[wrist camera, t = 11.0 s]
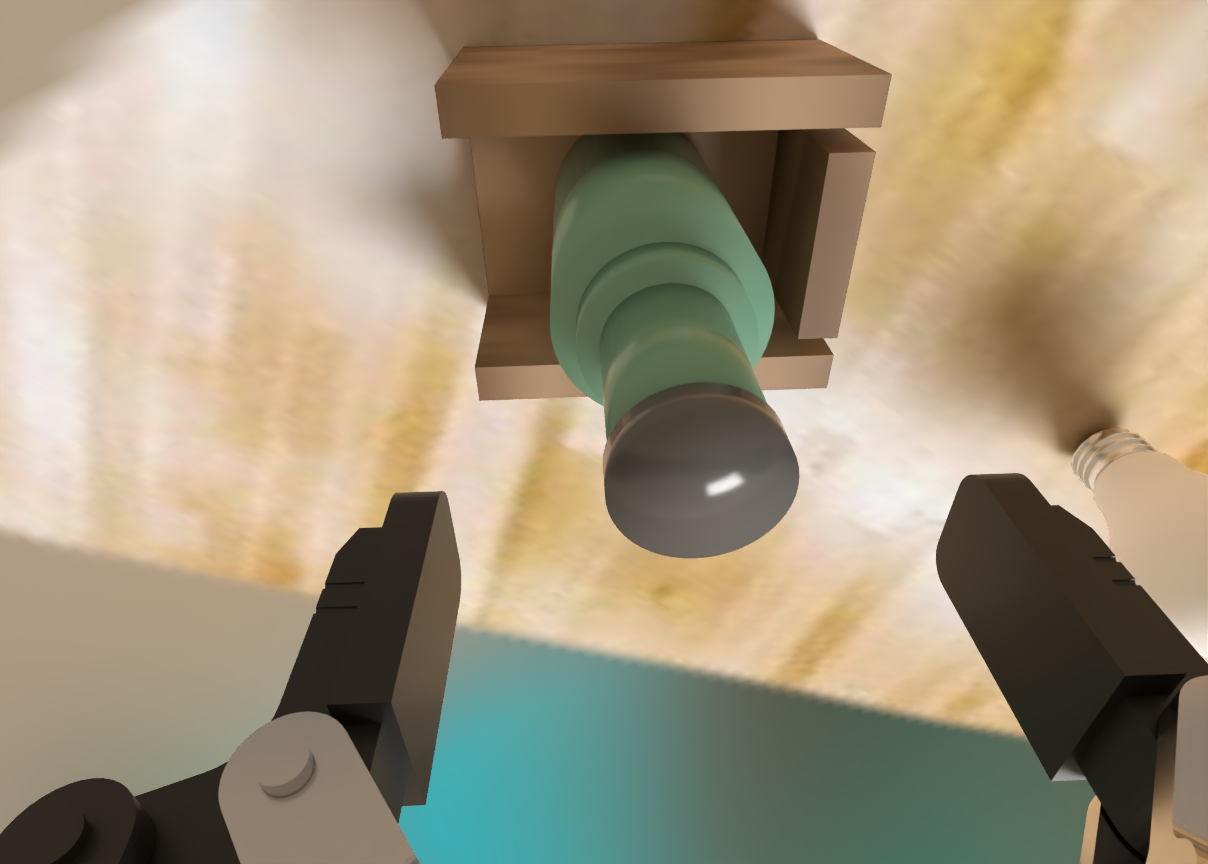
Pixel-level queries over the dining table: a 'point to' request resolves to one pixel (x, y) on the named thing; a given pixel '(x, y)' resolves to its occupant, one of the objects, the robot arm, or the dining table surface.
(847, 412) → the dining table surface
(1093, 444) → the light bulb
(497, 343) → the brown open-sided frame
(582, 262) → the bottle
